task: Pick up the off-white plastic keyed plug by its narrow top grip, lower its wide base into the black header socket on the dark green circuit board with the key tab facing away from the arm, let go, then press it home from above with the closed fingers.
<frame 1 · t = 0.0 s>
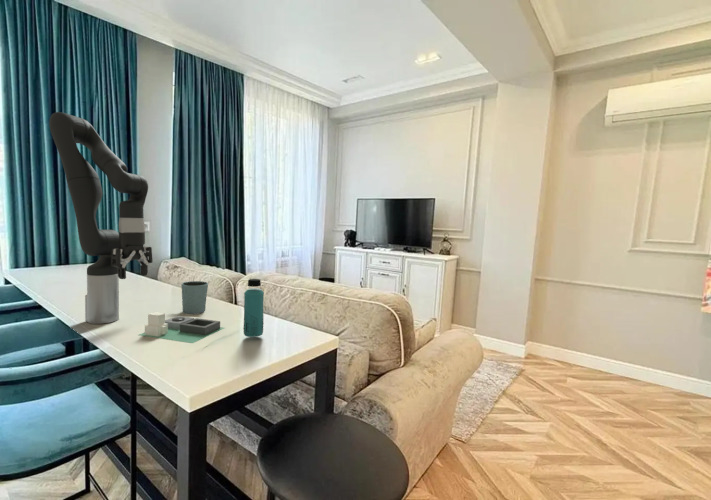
hand: (133, 277, 118), 17 cm above the table, tool pointing down, fingers open, 8 cm apart
plug: (156, 333, 107), point 1 cm above the table, touching board
beverage bottle: (253, 338, 111), on the table
grey-green tapered cup: (194, 311, 140), on the table
board: (183, 335, 110), on the table
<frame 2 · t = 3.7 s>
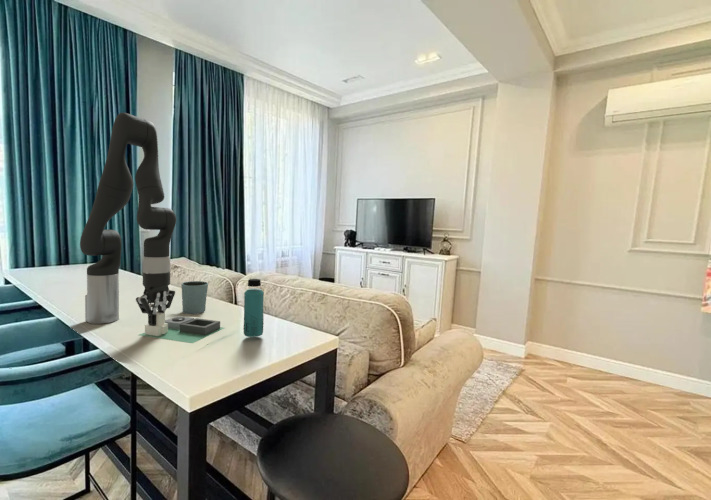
hand: (156, 323, 107), 5 cm above the table, tool pointing down, fingers closed on plug, 2 cm apart
plug: (156, 333, 107), point 2 cm above the table, touching gripper
everything else where it was.
when the fingers open (5 cm above the table, at t = 12.3 s): plug stays where it is, resting on board.
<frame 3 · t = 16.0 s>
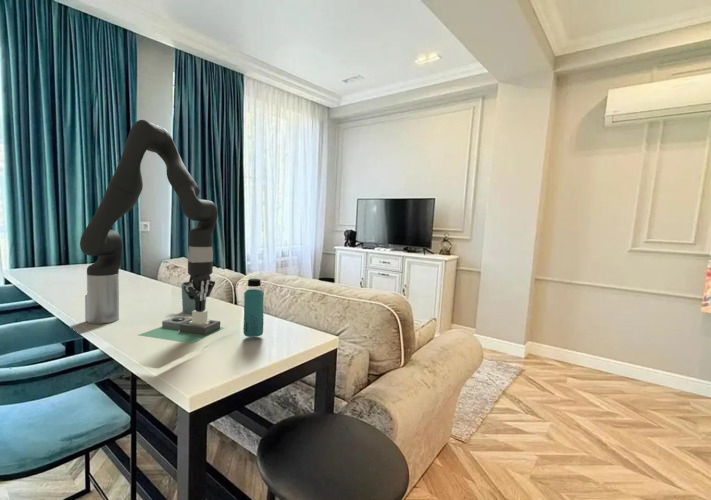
hand: (199, 311, 112), 8 cm above the table, tool pointing down, fingers closed
plug: (199, 329, 113), point 1 cm above the table, touching board, gripper
everything else where it was.
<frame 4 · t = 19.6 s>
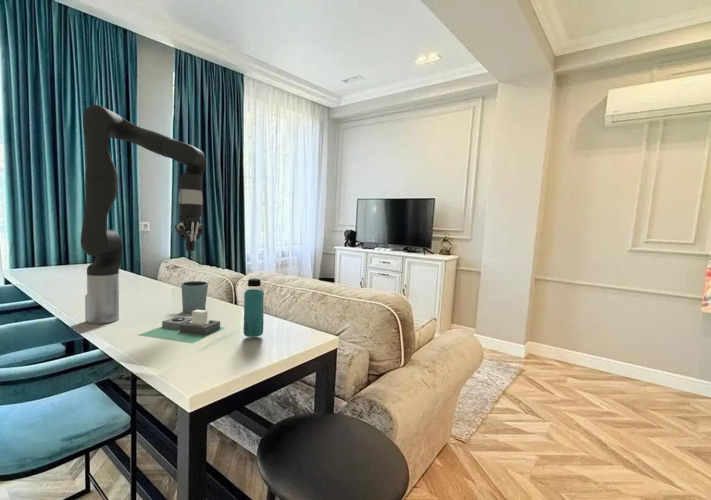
hand: (190, 251, 121), 27 cm above the table, tool pointing down, fingers closed
plug: (199, 329, 113), point 1 cm above the table, touching board
everything else where it was.
at the end: plug 0.1 cm from the target spot on the board, point 1.5 cm above the board's base; plug tilted 0°; the gripper is holding nothing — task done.
